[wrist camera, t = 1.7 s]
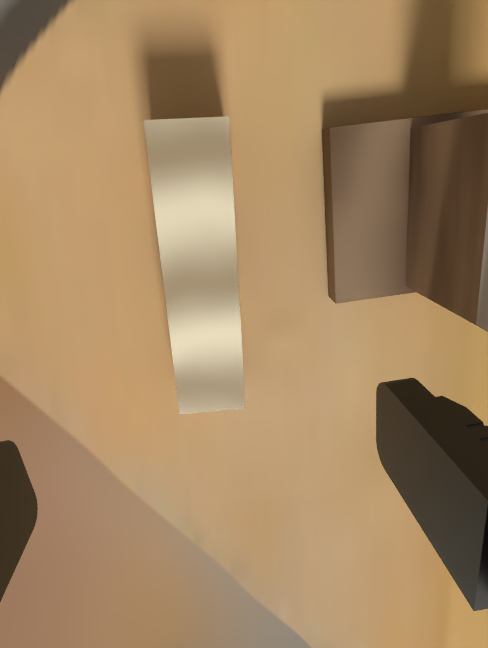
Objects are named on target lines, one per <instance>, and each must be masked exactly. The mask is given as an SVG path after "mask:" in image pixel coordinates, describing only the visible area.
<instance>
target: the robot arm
mask: <svg viewBox="0 0 488 648" xmlns="http://www.w3.org/2000/svg"><path fill="white" fill-rule="evenodd" d="M376 443H377V450H378V454H379V457H380V460H381V463H382V465H383V467H384V469H385V471H386V472H387V474H388V475H389V477H390V479H391V480H392V482H393V483H394V485H395V487H396V488H397V490H398V491H399V493H400V495H401V496H402V498H403V499H404V501H405V503H406V504H407V506H408V507H409V509H410V510H411V512H412V514H413V515H414V517H415V518H416V520H417V522H418V523H419V525H420V526H421V528H422V530H423V531H424V533H425V534H426V536H427V537H428V539H429V541H430V542H431V544H432V545H433V547H434V549H435V550H436V552H437V553H438V555H439V557H440V558H441V560H442V561H443V563H444V564H445V566H446V568H447V569H448V571H449V572H450V574H451V576H452V577H453V579H454V580H455V582H456V584H457V585H458V587H459V588H460V590H461V592H462V593H463V595H464V596H465V598H466V599H467V601H468V603H469V604H470V606H471V607H472V609H473V611H477V610H482V609H487V608H488V426H484V424H483V422H482V421H481V420H480V419H479V418H478V417H476V416H475V415H474V414H473V413H472V412H471V411H470V410H468V409H467V408H466V407H464V406H462V405H460V404H458V403H456V402H454V401H452V400H450V399H448V398H446V397H443V396H439V397H435V396H433V395H432V394H431V393H430V392H429V391H428V390H427V389H426V388H425V387H424V386H423V385H422V384H421V383H420V382H419V381H418V380H416V379H415V378H408V379H401V380H395V381H389V382H382V383H379V385H378V387H377V393H376ZM36 519H37V499H36V495H35V492H34V490H33V487H32V485H31V482H30V479H29V477H28V474H27V471H26V469H25V466H24V464H23V461H22V458H21V456H20V453H19V450H18V448H17V446H16V445H15V444H14V442H12V441H8V440H7V441H1V442H0V601H1V599H2V597H3V595H4V593H5V590H6V588H7V586H8V584H9V581H10V579H11V577H12V575H13V573H14V570H15V568H16V566H17V564H18V562H19V560H20V557H21V555H22V553H23V551H24V549H25V546H26V544H27V542H28V540H29V538H30V535H31V533H32V531H33V529H34V526H35V523H36Z"/></svg>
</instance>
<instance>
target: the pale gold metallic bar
mask: <svg viewBox="0 0 488 648" xmlns="http://www.w3.org/2000/svg"><path fill="white" fill-rule="evenodd" d="M143 121H144V129H145V137H146V145H147V154H148V162H149V170H150V178H151V186H152V194H153V202H154V210H155V219H156V227H157V235H158V243H159V251H160V259H161V267H162V275H163V284H164V292H165V300H166V308H167V316H168V324H169V332H170V340H171V349H172V357H173V365H174V373H175V381H176V389H177V397H178V405H179V414H189V413H199V412H209V411H219V410H229V409H239V408H245V391H244V373H243V355H242V338H241V320H240V302H239V285H238V267H237V249H236V232H235V214H234V196H233V178H232V161H231V143H230V125H229V116H226V117H203V118H180V119H157V120H143Z"/></svg>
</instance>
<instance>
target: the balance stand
mask: <svg viewBox="0 0 488 648" xmlns="http://www.w3.org/2000/svg"><path fill="white" fill-rule="evenodd" d="M322 141H323V166H324V191H325V216H326V241H327V266H328V291H329V297H330V298H331V299H332V300H333V301H334V302H335V303H343V302H350V301H357V300H364V299H371V298H378V297H385V296H392V295H399V294H406V293H413V292H417V293H419V294H421V295H423V296H425V297H426V298H428V299H430V300H432V301H434V302H435V303H437V304H439V305H441V306H443V307H444V308H446V309H448V310H450V311H452V312H453V313H455V314H457V315H459V316H461V317H462V318H464V319H466V320H468V321H470V322H471V323H473V324H475V325H477V326H479V327H480V328H482V329H484V330H486V331H487V332H488V109H485V110H476V111H468V112H459V113H450V114H442V115H433V116H425V117H416V118H408V119H399V120H390V121H382V122H373V123H365V124H356V125H348V126H339V127H331V128H327V129H324V130H322Z"/></svg>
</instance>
